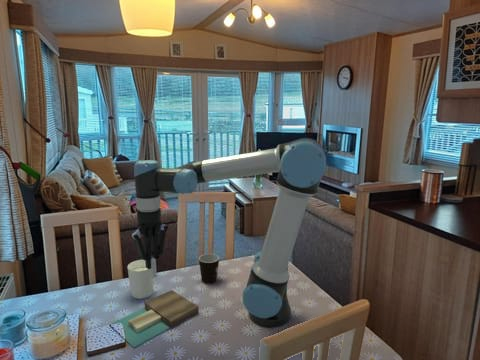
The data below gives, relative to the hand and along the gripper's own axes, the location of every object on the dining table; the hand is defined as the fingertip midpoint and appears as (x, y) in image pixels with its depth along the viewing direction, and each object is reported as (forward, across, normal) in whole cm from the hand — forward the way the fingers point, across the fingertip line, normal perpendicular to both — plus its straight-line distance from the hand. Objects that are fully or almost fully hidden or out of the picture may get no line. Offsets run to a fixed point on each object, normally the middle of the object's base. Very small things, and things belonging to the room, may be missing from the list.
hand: (152, 276), depth 113 cm
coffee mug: (+17, -33, -7) cm, 38 cm away
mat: (+17, +6, 0) cm, 17 cm away
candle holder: (+17, -6, -18) cm, 26 cm away
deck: (+17, -7, 0) cm, 18 cm away
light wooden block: (+16, +3, -1) cm, 16 cm away
